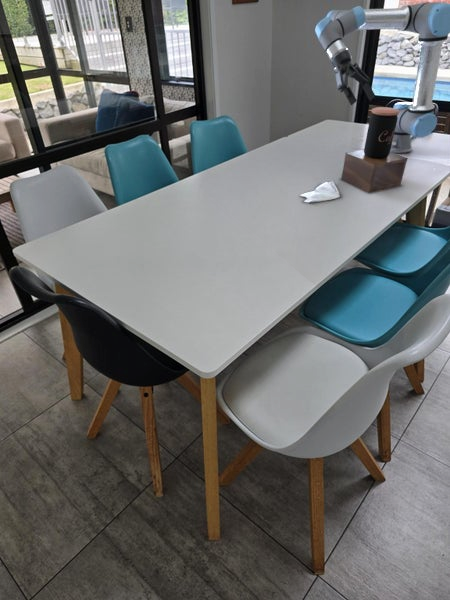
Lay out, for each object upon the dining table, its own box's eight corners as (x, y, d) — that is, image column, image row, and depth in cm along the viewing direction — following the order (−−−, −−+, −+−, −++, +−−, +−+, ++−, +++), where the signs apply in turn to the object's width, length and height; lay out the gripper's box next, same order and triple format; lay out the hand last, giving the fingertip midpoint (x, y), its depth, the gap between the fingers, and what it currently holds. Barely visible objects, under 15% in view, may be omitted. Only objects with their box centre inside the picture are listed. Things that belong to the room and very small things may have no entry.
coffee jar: (375, 160, 170) (385, 114, 160) (357, 153, 178) (366, 108, 167) (394, 156, 174) (405, 111, 163) (376, 150, 182) (385, 106, 171)
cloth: (321, 207, 162) (321, 202, 161) (292, 198, 170) (293, 193, 168) (354, 189, 177) (355, 184, 176) (327, 181, 185) (328, 176, 183)
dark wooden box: (371, 172, 193) (377, 146, 186) (400, 185, 180) (407, 158, 173) (341, 179, 186) (345, 152, 179) (368, 193, 174) (374, 164, 166)
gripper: (350, 59, 180) (373, 102, 180) (314, 65, 167) (339, 111, 167) (363, 46, 174) (386, 90, 174) (326, 51, 161) (352, 98, 161)
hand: (363, 100), depth 171 cm, fingers open, 13 cm apart
